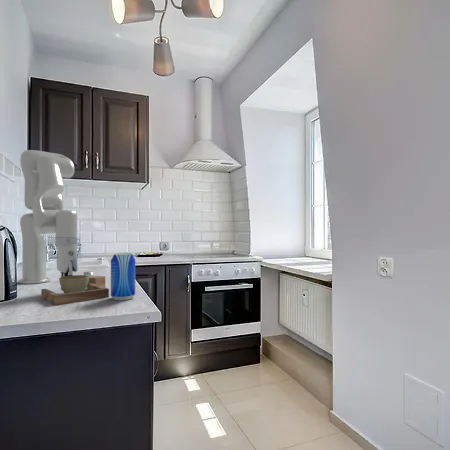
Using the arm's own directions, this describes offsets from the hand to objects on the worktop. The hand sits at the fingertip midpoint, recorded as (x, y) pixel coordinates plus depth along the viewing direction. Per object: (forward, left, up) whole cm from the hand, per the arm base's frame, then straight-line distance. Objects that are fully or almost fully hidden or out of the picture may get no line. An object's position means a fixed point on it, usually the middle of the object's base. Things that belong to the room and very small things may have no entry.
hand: (66, 289), depth 127 cm
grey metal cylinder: (-9, +12, -1) cm, 15 cm away
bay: (+9, 0, -1) cm, 9 cm away
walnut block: (-1, +12, -1) cm, 12 cm away
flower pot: (+8, 0, -2) cm, 8 cm away
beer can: (+23, +12, -2) cm, 26 cm away
